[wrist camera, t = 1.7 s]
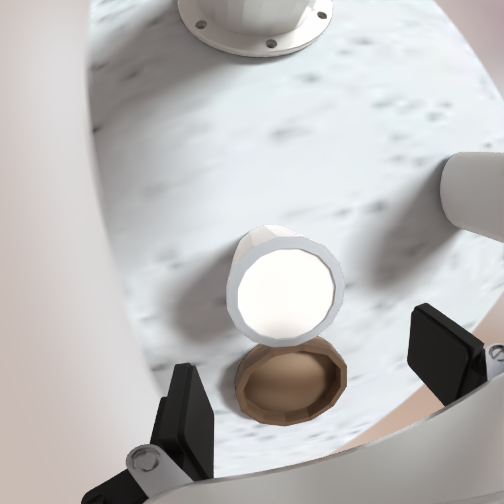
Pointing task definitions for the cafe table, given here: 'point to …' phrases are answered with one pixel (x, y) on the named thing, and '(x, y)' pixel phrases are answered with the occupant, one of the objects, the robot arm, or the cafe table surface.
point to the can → (475, 192)
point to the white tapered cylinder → (283, 287)
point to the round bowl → (290, 382)
